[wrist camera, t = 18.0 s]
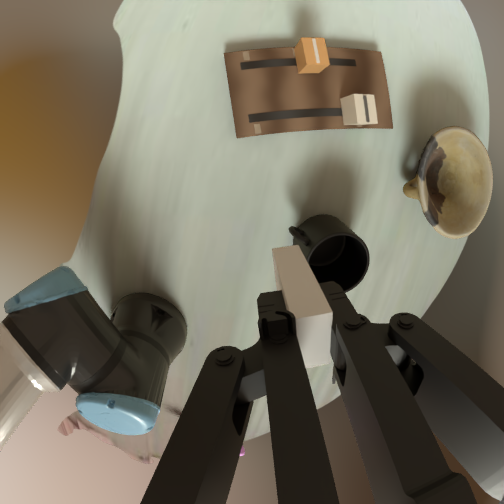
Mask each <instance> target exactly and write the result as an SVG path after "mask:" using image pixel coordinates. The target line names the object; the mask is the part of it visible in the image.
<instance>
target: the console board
mask: <svg viewBox="0 0 504 504" xmlns="http://www.w3.org/2000/svg"><path fill="white" fill-rule="evenodd" d="M294 48H295V47H282V48H266V49H254V50H245V51H237V52H230V53H224V58H225V65H226V71H227V78H228V84H229V91H230V97H231V104H232V110H233V117H234V123H235V130H236V136H237V138H242V137H249V136H257V135H265V134H274V133H284V132H294V131H307V130H323V129H350V128H385V129H392V128H393V123H392V114H391V106H390V99H389V92H388V86H387V80H386V74H385V69H384V64H383V59H382V55H381V52H377V51H369V50H360V49H349V48H333V47H326V48H327V53H328V58H329V63H330V65H329V66H328V67H326V68H325V69H324V70H322V71H321V72H320V73H301V74H298V68H297V63H296V57H295V52H294ZM352 94H370V95H374V98H375V105H376V113H377V121H378V124H366V125H344V123H343V115H342V108H341V101H340V99H341V98H343V97H346V96H349V95H352Z"/></svg>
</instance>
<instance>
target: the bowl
mask: <svg viewBox="0 0 504 504" xmlns="http://www.w3.org/2000/svg"><path fill="white" fill-rule="evenodd" d="M492 185H493V175H492V166H491V162H490V159H489V155H488V153H487V150H486V148H485V147H484V145H483V143H482V142H481V141H480V140H479V138H478V137H477V136H476V135H475V134H474V133H473V132H471V131H469V130H467V129H465V128H462V127H457V126H451V127H446V128H443V129H441V130H439V131H438V132H436V133H435V134H434V135H432V136H431V138H430V139H429V141H428V143H427V145H426V147H425V148H424V151H423V153H422V154H421V159H420V160H419V167H418V171H417V173H416V177H415V178H414V179H412V180H410V181H409V182H407V183H406V184H405V185H404V187H403V192H404V194H405V195H406V196H407V197H410V198H414V199H418V200H419V201H420V203H421V206H422V209H423V213H424V215H425V217H426V219H427V220H428V222H429V223H430V224H431V225H432V226H433V227H434V229H435V230H436V231H437V232H438V233H440V234H441V235H443V236H445V237H447V238H452V239H457V238H462V237H465V236H468V235H469V234H470V233H472V232H473V231H474V230H475V229H476V228H477V227H478V225H479V224H480V222H481V221H482V219H483V217H484V215H485V213H486V211H487V209H488V206H489V203H490V199H491V194H492V187H493V186H492Z"/></svg>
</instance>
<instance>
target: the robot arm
mask: <svg viewBox="0 0 504 504" xmlns="http://www.w3.org/2000/svg"><path fill="white" fill-rule="evenodd" d="M272 252H273V261H274V269H275V278H276V287H277V291H273V292H266V293H261V294H260V295H259V297H258V299H257V305H258V314H259V320H258V328H259V334H260V338H259V340H258V342H257V343H256V344H255V345H253V346H252V347H250V348H248V349H245V350H242V351H241V350H239V349H238V348H236V347H232V346H222V347H219V348H216V349H215V350H213V351H212V352H210V354H209V355H208V356H207V358H206V360H205V362H204V365H203V367H202V369H201V371H200V373H199V376H198V378H197V380H196V382H195V384H194V387H193V389H192V391H191V393H190V396H189V398H188V400H187V402H186V404H185V407H184V409H183V411H182V413H181V415H180V418H179V420H178V422H177V424H176V426H175V429H174V431H173V433H172V435H171V437H170V440H169V442H168V444H167V446H166V448H165V451H164V453H163V455H162V457H161V459H160V461H159V464H158V466H157V468H156V470H155V472H154V475H153V477H152V479H151V481H150V484H149V486H148V488H147V490H146V492H145V494H144V497H143V499H142V501H141V503H140V504H226V500H227V498H228V494H229V491H230V487H231V484H232V480H233V477H234V474H235V470H236V466H237V463H238V459H239V456H240V452H241V448H242V445H243V441H244V437H245V433H246V430H247V426H248V422H249V418H250V414H251V410H252V406H253V400H255V399H258V398H260V397H263V396H265V395H267V404H268V413H269V422H270V431H271V440H272V450H273V458H274V467H275V477H276V486H277V495H278V504H339V500H338V496H337V491H336V487H335V483H334V478H333V474H332V470H331V466H330V462H329V458H328V453H327V449H326V445H325V442H324V437H323V433H322V429H321V425H320V421H319V417H318V413H317V409H316V406H315V402H314V398H313V394H312V390H311V386H310V383H309V379H308V375H307V371H306V368H310V367H315V366H320V365H325V364H330V362H331V356H332V359H333V362H334V367H333V378H332V382H333V384H335V380H336V381H337V384H338V386H339V389H340V392H341V395H342V398H343V401H344V404H345V407H346V410H347V412H348V415H349V419H350V422H351V425H352V428H353V431H354V434H355V437H356V440H357V443H358V446H359V450H360V453H361V456H362V459H363V463H364V466H365V469H366V472H367V476H368V479H369V483H370V486H371V489H372V493H373V496H374V500H375V504H477V502H476V499H475V497H474V494H473V492H472V490H471V487H470V485H469V483H468V481H467V479H466V478H465V477H464V476H463V475H462V474H459V473H455V472H452V471H451V470H450V469H449V467H448V465H447V463H446V460H445V458H444V456H443V454H442V452H441V450H440V447H439V445H438V443H437V441H436V439H435V437H434V435H433V433H434V434H435V435H436V436H437V437H438V438H439V439H440V441H441V442H442V443H443V444H444V445H445V446H446V447H447V449H448V450H449V451H450V452H451V453H452V454H453V455H454V457H455V458H456V459H457V460H458V461H459V462H460V463H461V465H462V466H463V467H464V468H465V469H466V470H467V472H468V473H469V474H470V475H471V476H472V477H473V479H474V480H475V481H476V482H477V483H478V484H479V485H480V486H481V487H482V489H483V490H484V491H485V492H487V493H488V494H489V495H491V496H492V497H494V498H496V499H498V500H500V503H499V504H504V388H503V387H502V386H501V385H500V384H499V383H497V382H496V381H495V380H494V379H493V378H492V377H491V376H489V375H488V374H487V373H486V372H485V371H484V370H483V369H481V368H480V367H479V366H478V365H477V364H475V363H474V362H473V361H472V360H471V359H470V358H468V357H467V356H466V355H465V354H463V353H462V352H461V351H459V349H457V348H456V347H455V346H454V345H452V344H451V343H450V342H449V341H447V340H446V339H445V338H444V337H442V336H441V335H440V334H439V333H437V332H436V331H435V330H434V329H432V328H431V327H430V326H429V325H427V324H426V323H425V322H423V321H422V320H421V319H420V318H418V317H417V316H415V315H413V314H410V313H398V314H395V315H394V316H392V317H391V319H390V322H389V323H388V324H377V323H371V322H370V321H369V320H368V319H367V318H366V317H365V316H363V315H361V314H357V312H356V310H355V309H354V307H353V305H352V304H351V302H350V301H349V299H348V298H347V296H346V294H345V293H344V291H343V289H342V288H341V286H340V285H338V284H337V283H335V282H334V281H330V282H324V283H318V282H317V280H316V278H315V276H314V274H313V272H312V270H311V268H310V266H309V264H308V262H307V260H306V259H305V257H304V255H303V253H302V251H301V249H300V247H299V245H294V246H287V247H280V248H273V249H272ZM4 308H5V312H6V313H8V316H7V317H6V318H5V319H4V320H3V321H2V322H1V323H0V451H1V450H2V448H3V447H4V445H5V444H6V442H7V441H8V440H9V438H10V437H11V435H12V434H13V433H14V431H15V430H16V428H17V427H18V426H19V424H20V423H21V422H22V420H23V419H24V417H25V416H26V415H27V414H28V412H29V411H30V410H31V408H32V407H33V406H34V404H35V403H36V402H37V401H38V399H39V398H40V397H41V395H42V394H43V393H44V392H60V391H61V390H62V389H63V387H64V386H65V385H66V384H69V385H70V386H71V387H72V388H73V389H74V390H75V391H76V392H77V393H78V394H79V396H77V398H76V407H77V409H78V411H79V413H80V414H81V415H82V416H83V417H84V418H86V419H87V420H88V421H90V422H91V423H93V424H95V425H97V426H99V427H101V428H103V429H106V430H109V431H112V432H115V433H119V434H125V435H140V434H145V433H147V432H149V431H150V430H152V429H153V427H154V425H155V422H156V419H157V416H158V414H159V412H160V407H161V402H162V397H163V392H164V388H165V383H166V379H167V374H168V370H169V366H170V364H171V363H172V362H173V360H174V359H175V358H176V356H177V355H178V354H179V353H180V352H181V351H182V349H183V347H184V345H185V341H186V337H187V326H186V323H185V320H184V318H183V317H182V315H181V314H180V312H179V311H178V310H177V309H176V308H175V307H174V306H173V305H172V304H170V303H169V302H167V301H166V300H164V299H162V298H160V297H158V296H155V295H152V294H147V293H135V294H130V295H128V296H125V297H124V298H122V299H121V300H120V301H119V302H118V304H117V305H116V307H115V308H114V310H113V312H112V315H111V320H110V319H109V318H108V317H107V315H106V314H105V313H104V312H103V310H102V309H101V308H100V306H99V305H98V304H97V302H96V301H95V299H94V298H93V297H92V295H91V294H90V292H89V291H88V288H87V287H86V286H84V284H83V283H82V282H81V281H80V279H79V278H78V277H77V276H76V274H75V273H74V271H73V270H72V269H70V268H69V267H66V266H60V267H58V268H56V269H54V270H52V271H51V272H49V273H47V274H46V275H44V276H43V277H41V278H40V279H38V280H37V281H35V282H33V283H32V284H30V285H29V286H27V287H26V288H25V289H23V290H22V291H20V292H19V293H18V294H16V295H15V296H13V297H12V298H11V299H9V300H8V301H6V302H5V304H4ZM412 359H413V360H414V361H415V362H416V363H415V362H413V360H412ZM431 430H432V431H433V433H432V431H431Z"/></svg>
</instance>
